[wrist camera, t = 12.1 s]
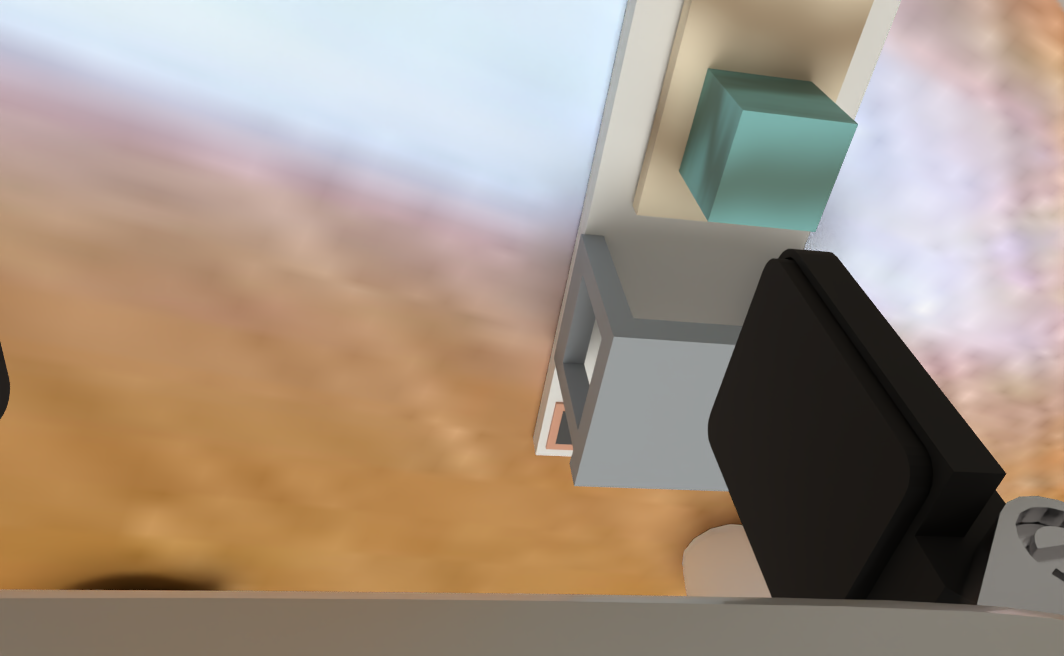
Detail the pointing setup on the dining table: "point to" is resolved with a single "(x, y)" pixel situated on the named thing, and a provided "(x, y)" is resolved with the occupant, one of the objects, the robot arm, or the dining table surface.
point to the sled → (752, 113)
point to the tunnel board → (656, 290)
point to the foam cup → (723, 565)
